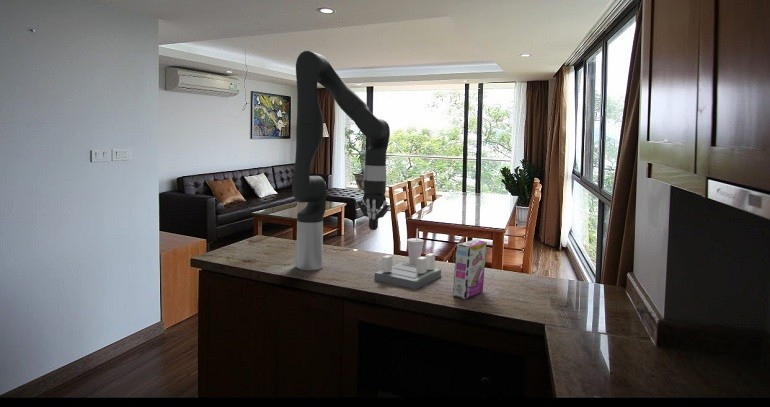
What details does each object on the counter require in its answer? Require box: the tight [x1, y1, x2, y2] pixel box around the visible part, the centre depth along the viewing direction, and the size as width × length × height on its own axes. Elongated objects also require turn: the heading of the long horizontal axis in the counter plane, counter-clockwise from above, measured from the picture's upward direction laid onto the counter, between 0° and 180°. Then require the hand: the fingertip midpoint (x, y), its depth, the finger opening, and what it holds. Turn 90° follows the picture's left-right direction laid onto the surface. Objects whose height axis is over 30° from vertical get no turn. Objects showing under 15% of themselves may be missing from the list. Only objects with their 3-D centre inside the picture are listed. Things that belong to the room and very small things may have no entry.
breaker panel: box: [373, 252, 442, 290], centre depth 161 cm, size 16×18×8 cm
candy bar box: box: [452, 239, 488, 300], centre depth 146 cm, size 11×5×16 cm, turn 141°
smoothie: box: [406, 228, 425, 265], centre depth 179 cm, size 6×6×14 cm
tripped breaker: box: [381, 254, 394, 273], centre depth 158 cm, size 2×4×5 cm, turn 148°
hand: (373, 229), depth 160 cm, fingers closed
